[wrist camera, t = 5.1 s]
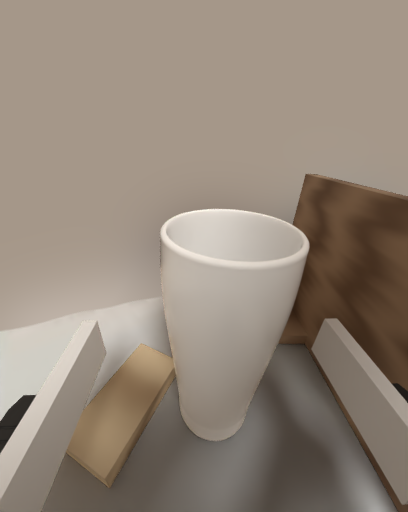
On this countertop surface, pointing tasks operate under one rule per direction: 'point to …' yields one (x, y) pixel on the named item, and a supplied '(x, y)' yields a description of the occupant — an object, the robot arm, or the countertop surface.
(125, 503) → the countertop surface
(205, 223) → the drinking glass
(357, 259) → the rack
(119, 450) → the offcut flat
